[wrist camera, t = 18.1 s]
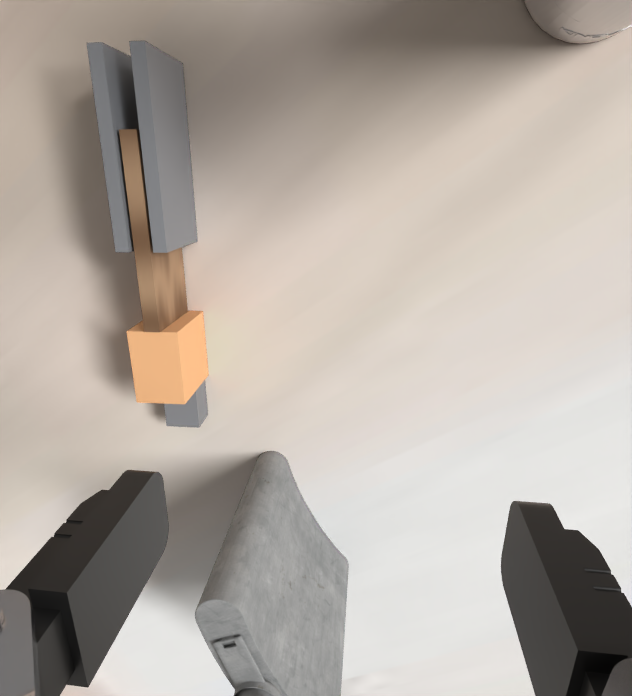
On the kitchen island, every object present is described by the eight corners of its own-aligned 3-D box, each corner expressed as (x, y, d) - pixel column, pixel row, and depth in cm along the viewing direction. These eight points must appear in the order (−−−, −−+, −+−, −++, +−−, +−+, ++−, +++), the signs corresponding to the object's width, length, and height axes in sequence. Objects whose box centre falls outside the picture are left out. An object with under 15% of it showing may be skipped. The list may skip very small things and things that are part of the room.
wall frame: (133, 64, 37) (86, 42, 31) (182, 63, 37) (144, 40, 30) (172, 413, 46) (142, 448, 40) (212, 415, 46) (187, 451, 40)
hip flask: (353, 571, 50) (342, 806, 32) (318, 582, 51) (288, 817, 33) (279, 446, 46) (215, 629, 28) (242, 461, 47) (157, 647, 29)
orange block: (158, 310, 43) (126, 331, 38) (202, 311, 43) (177, 332, 37) (166, 373, 45) (136, 402, 40) (208, 375, 45) (185, 404, 39)
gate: (156, 136, 38) (118, 129, 33) (171, 136, 38) (136, 129, 32) (174, 311, 43) (144, 331, 37) (187, 311, 43) (159, 332, 37)
